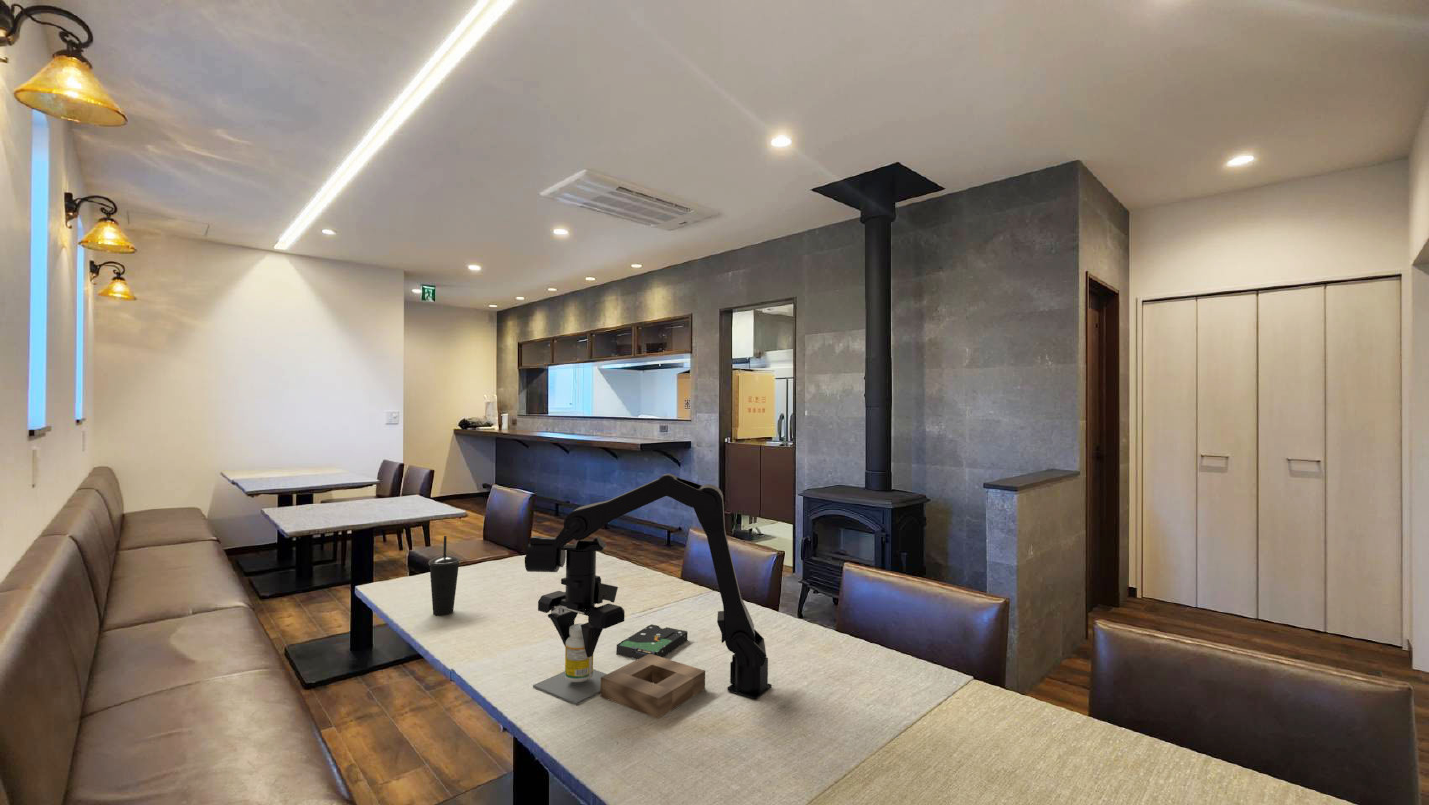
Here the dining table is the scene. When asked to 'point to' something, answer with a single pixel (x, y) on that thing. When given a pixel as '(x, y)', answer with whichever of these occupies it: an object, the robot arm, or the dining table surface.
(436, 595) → the drinking cup
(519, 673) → the dining table surface
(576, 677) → the supplement bottle
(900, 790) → the dining table surface
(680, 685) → the socket block
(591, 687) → the rubber mat
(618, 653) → the disk drive
